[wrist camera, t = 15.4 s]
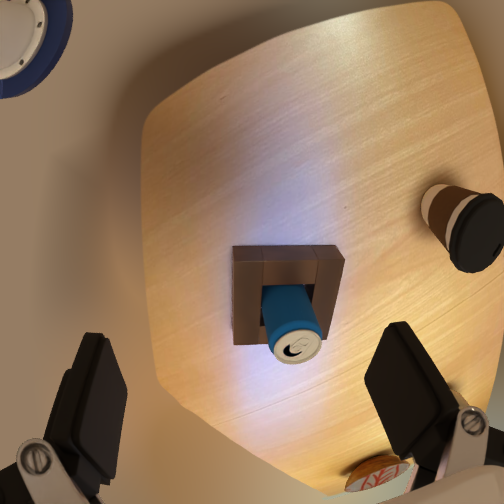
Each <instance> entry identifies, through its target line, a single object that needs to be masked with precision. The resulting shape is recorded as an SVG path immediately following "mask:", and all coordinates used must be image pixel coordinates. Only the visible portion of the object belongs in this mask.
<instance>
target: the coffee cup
mask: <svg viewBox="0 0 504 504" xmlns="http://www.w3.org/2000/svg"><path fill="white" fill-rule="evenodd" d="M421 212H422V216H423V219H424V220H425V222H426V223H427V224H428V225H429V228H430V229H431V231H432V232H433V233H434V235H435V236H436V237H437V238H438V240H439V241H440V242H441V243H442V245H443V246H444V247H445V248H446V250H447V251H448V252H449V254H450V260H451V261H452V263H453V264H454V266H455V267H456V268H457V269H458V270H460V271H463V272H466V273H476V272H480V271H483V270H484V269H485V268H487V267H488V266H489V265H491V264H492V263H493V262H494V260H495V259H496V258H497V257H498V255H499V254H500V253H501V251H502V249H503V246H504V204H503V201H502V200H501V199H499V198H498V197H497V196H495V195H494V194H492V193H485V194H481V193H478V192H474V191H471V190H468V189H464V188H461V187H457V186H449V185H446V184H438V185H435V186H433V187H431V188H429V189H428V191H427V192H426V193H425V194H424V197H423V199H422V201H421Z"/></svg>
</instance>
